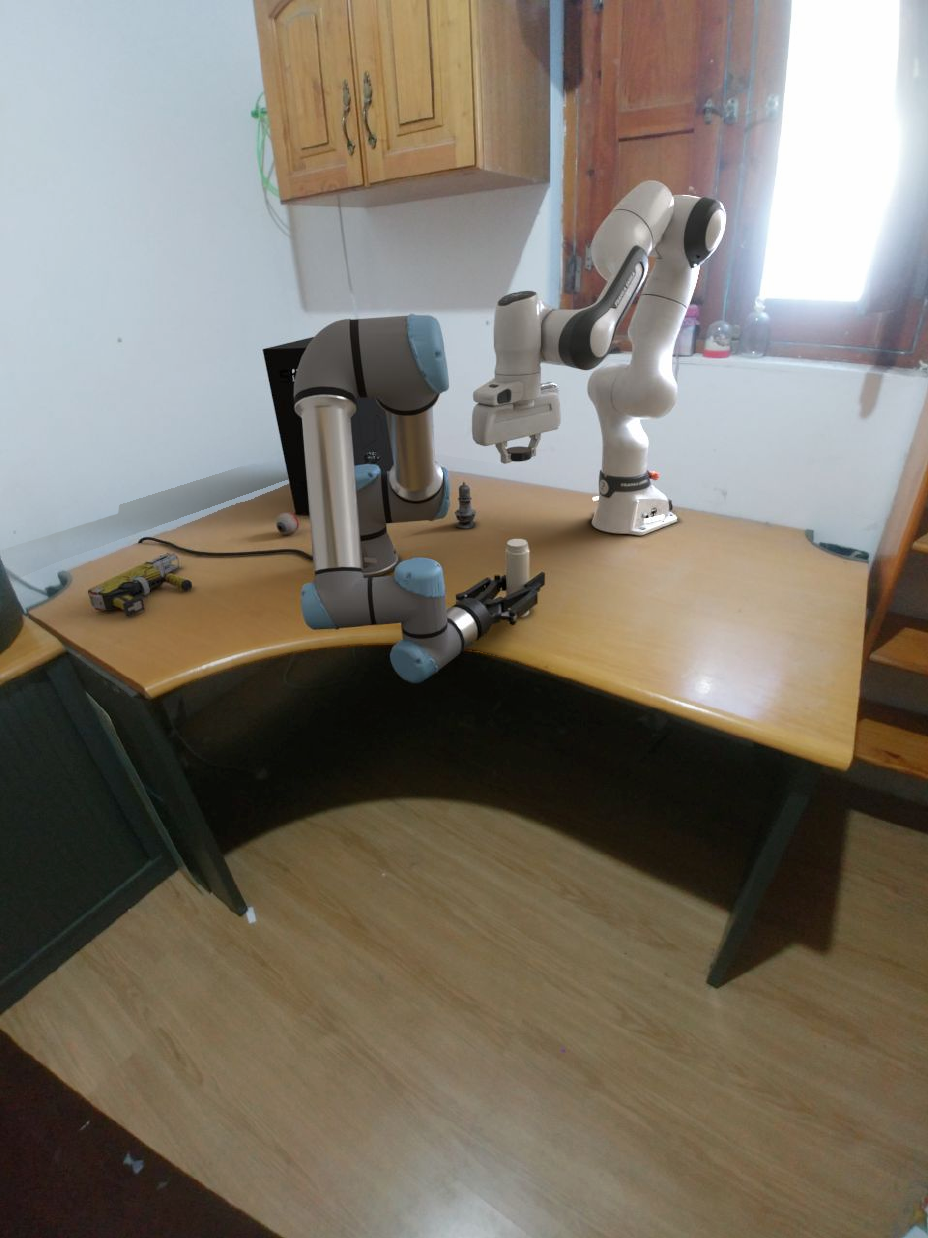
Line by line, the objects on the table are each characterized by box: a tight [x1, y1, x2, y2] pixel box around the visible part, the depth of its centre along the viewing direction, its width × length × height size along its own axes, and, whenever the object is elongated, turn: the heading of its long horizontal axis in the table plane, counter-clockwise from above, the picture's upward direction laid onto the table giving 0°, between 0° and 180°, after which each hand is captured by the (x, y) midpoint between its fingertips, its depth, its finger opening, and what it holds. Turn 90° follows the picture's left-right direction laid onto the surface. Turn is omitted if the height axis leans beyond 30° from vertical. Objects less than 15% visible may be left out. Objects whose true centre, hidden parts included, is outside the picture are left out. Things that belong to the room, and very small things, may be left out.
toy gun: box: [87, 552, 193, 618], centre depth 137 cm, size 5×24×15 cm
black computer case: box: [262, 336, 394, 515], centre depth 181 cm, size 38×20×45 cm, turn 167°
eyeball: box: [275, 511, 300, 536], centre depth 163 cm, size 6×6×6 cm
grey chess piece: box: [454, 481, 477, 529], centre depth 161 cm, size 6×6×12 cm
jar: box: [504, 538, 530, 619], centre depth 118 cm, size 5×5×15 cm
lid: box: [506, 445, 532, 463], centre depth 122 cm, size 5×5×2 cm
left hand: (531, 575), depth 122 cm, fingers closed on jar, 5 cm apart
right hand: (518, 459), depth 123 cm, fingers closed on lid, 5 cm apart
